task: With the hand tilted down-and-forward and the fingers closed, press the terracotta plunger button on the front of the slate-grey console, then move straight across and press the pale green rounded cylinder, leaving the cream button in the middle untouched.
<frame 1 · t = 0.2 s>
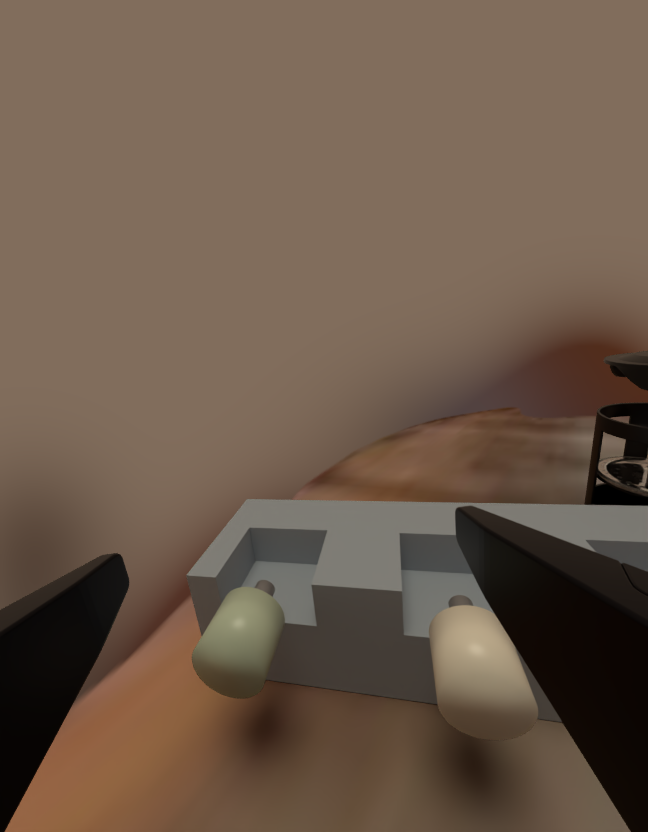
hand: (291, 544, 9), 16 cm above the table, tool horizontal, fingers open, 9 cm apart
pale green rounded cylinder: (249, 623, 17), point 7 cm above the table, slide at 0.0 cm
console: (446, 635, 23), on the table
cream button: (471, 647, 15), point 7 cm above the table, slide at 0.0 cm
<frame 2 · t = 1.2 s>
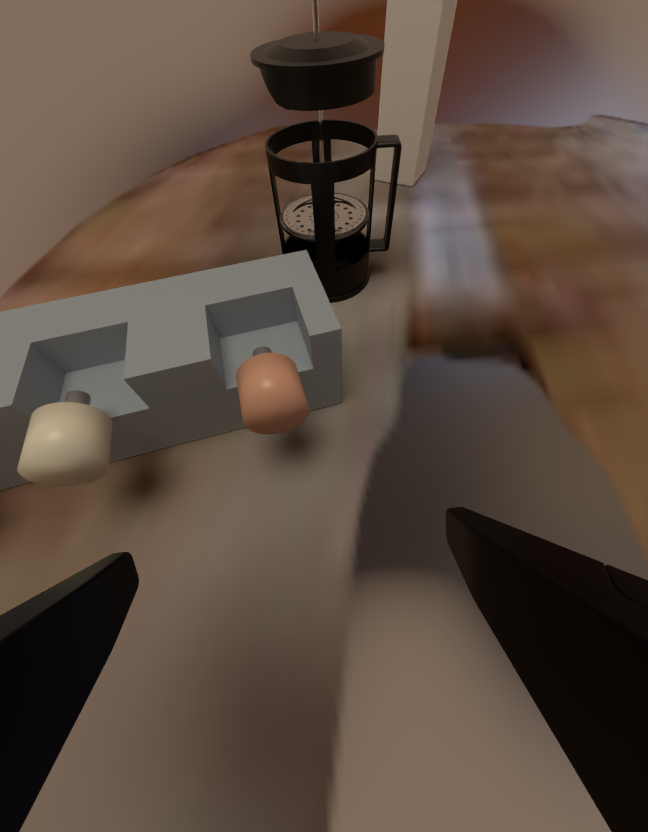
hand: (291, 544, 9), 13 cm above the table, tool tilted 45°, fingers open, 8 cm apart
milk: (399, 176, 48), on the table
french press: (331, 276, 36), on the table
terracotta button: (269, 382, 19), point 7 cm above the table, slide at 0.0 cm
console: (144, 407, 27), on the table
cream button: (72, 431, 18), point 7 cm above the table, slide at 0.0 cm
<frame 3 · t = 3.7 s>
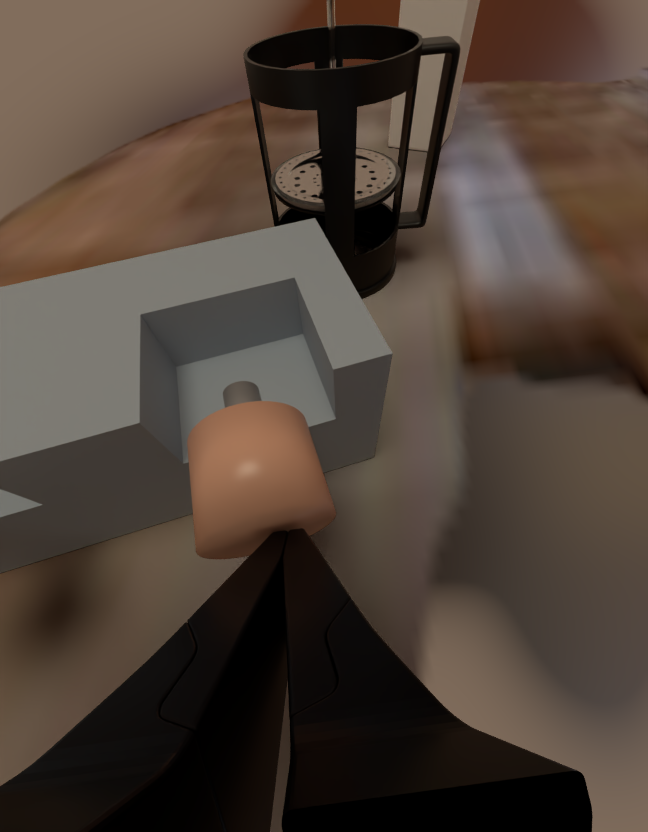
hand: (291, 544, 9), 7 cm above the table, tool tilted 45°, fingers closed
milk: (419, 142, 39), on the table
french press: (343, 266, 26), on the table
terracotta button: (253, 454, 10), point 7 cm above the table, slide at 0.5 cm, touching gripper
console: (71, 470, 18), on the table
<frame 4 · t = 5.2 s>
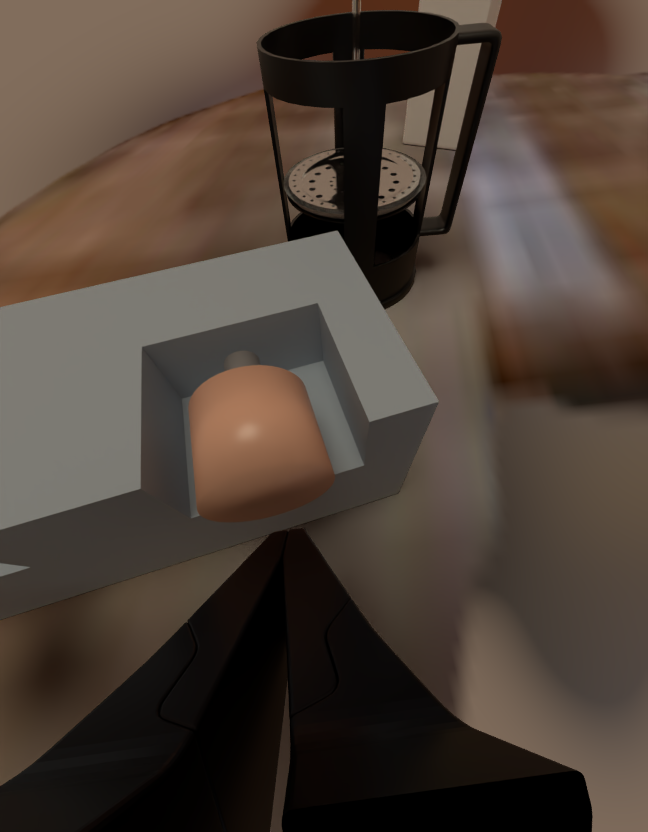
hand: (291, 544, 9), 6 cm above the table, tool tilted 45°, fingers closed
milk: (435, 138, 36), on the table
french press: (358, 274, 25), on the table
terracotta button: (254, 421, 10), point 7 cm above the table, slide at 3.7 cm
console: (68, 504, 16), on the table
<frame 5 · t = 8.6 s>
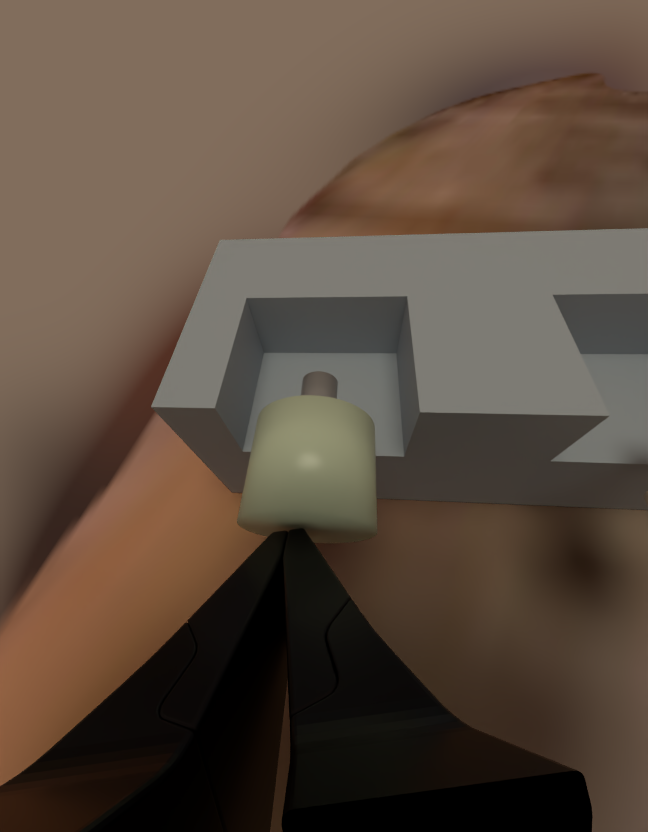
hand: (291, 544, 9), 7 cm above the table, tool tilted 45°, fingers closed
pale green rounded cylinder: (314, 446, 10), point 7 cm above the table, slide at 1.3 cm, touching gripper
console: (534, 424, 18), on the table
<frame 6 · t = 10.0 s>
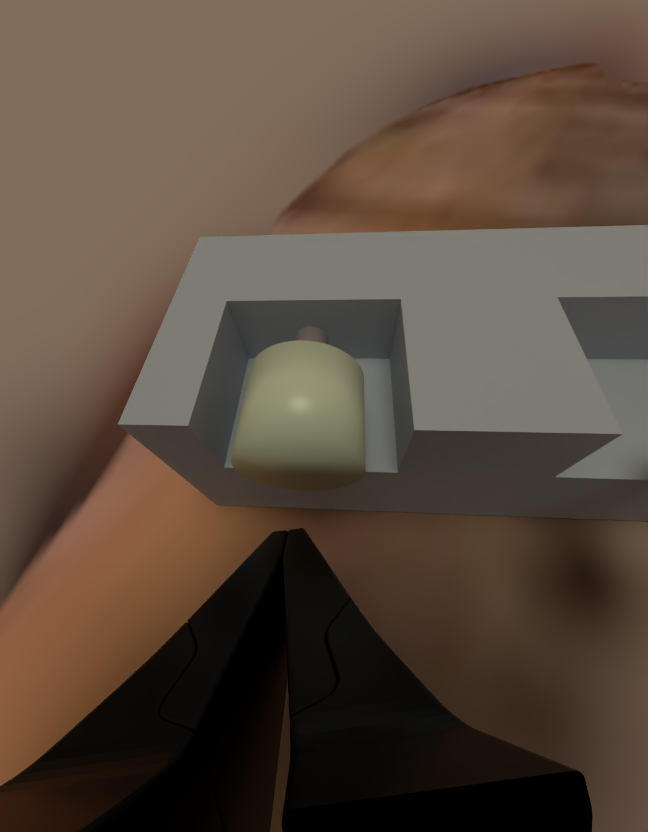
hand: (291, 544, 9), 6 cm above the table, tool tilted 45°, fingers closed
pale green rounded cylinder: (305, 396, 10), point 7 cm above the table, slide at 3.7 cm
console: (534, 430, 17), on the table
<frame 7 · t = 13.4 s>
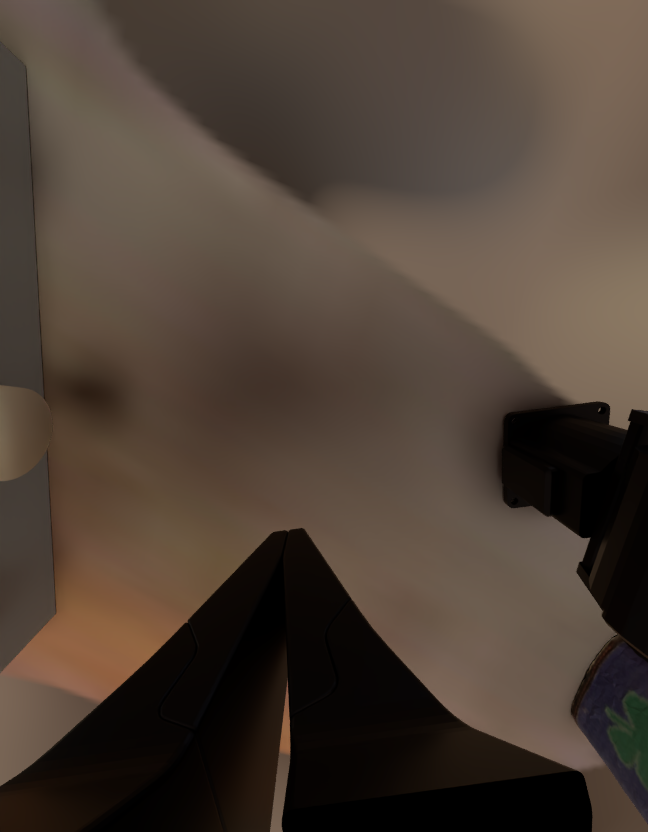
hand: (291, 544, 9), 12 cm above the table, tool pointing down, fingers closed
flask: (598, 674, 26), on the table
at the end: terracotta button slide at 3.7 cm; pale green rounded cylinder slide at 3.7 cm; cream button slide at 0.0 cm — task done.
